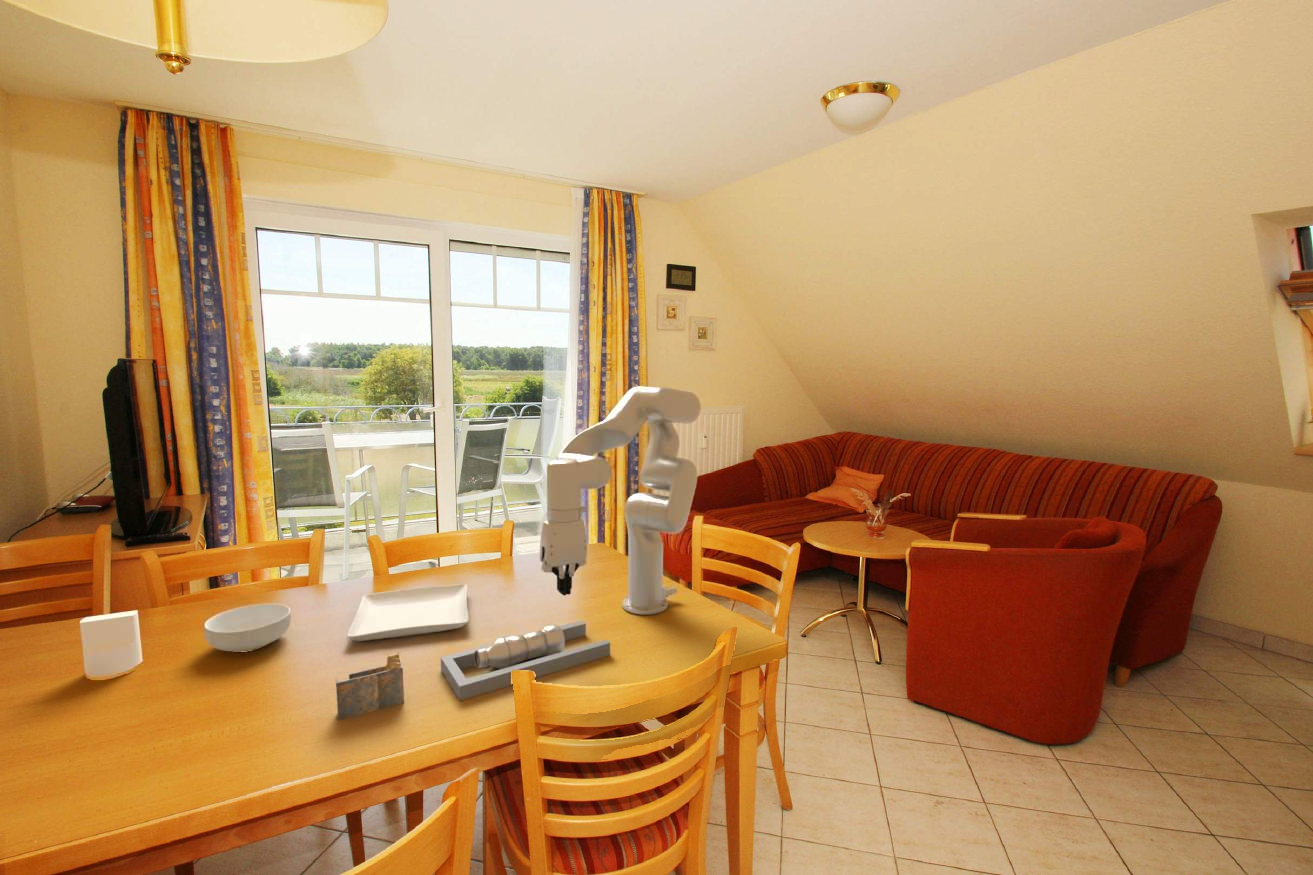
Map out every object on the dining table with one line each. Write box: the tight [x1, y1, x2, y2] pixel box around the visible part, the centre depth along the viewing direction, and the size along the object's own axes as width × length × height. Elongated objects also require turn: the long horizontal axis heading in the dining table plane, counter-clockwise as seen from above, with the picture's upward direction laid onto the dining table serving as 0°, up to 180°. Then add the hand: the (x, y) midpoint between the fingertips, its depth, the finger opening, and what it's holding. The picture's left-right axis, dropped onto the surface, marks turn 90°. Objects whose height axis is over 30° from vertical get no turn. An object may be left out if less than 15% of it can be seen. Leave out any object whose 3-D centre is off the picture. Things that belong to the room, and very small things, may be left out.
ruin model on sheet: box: [335, 652, 405, 721], centre depth 113 cm, size 11×3×10 cm, turn 121°
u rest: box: [440, 620, 611, 701], centre depth 131 cm, size 34×14×3 cm, turn 124°
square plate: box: [346, 583, 470, 642], centre depth 154 cm, size 27×27×4 cm
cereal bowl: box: [203, 602, 292, 652], centre depth 138 cm, size 17×17×7 cm
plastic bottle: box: [474, 624, 566, 670], centre depth 132 cm, size 6×7×20 cm
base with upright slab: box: [79, 610, 143, 677], centre depth 126 cm, size 9×9×12 cm
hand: (564, 592), depth 135 cm, fingers closed
